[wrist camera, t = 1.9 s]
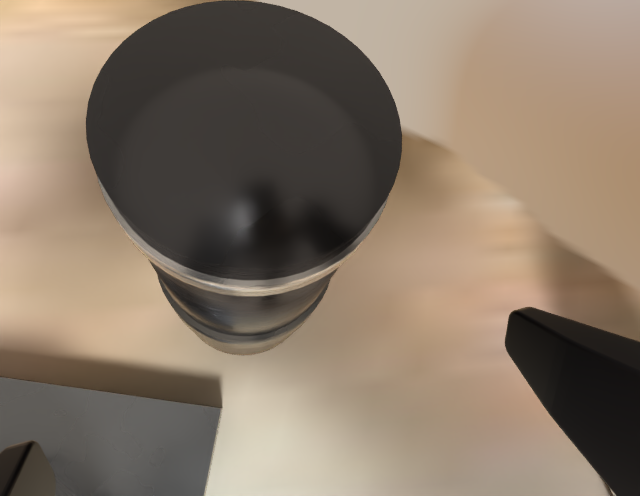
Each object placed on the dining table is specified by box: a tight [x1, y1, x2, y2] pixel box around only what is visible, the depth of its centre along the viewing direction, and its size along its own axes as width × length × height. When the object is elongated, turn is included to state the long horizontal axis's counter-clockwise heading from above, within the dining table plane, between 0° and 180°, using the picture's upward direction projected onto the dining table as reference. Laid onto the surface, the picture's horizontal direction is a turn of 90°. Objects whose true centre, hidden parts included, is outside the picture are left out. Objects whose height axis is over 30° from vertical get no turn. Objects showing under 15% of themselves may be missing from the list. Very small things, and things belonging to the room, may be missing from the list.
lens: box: [86, 1, 402, 355], centre depth 14 cm, size 6×6×13 cm
